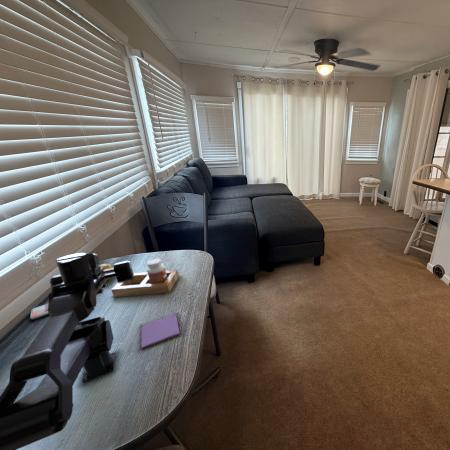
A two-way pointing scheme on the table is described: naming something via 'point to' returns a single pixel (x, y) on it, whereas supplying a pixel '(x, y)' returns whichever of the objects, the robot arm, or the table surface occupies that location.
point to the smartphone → (39, 311)
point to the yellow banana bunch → (106, 268)
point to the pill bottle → (156, 271)
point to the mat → (159, 330)
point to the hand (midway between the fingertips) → (102, 268)
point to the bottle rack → (145, 285)
